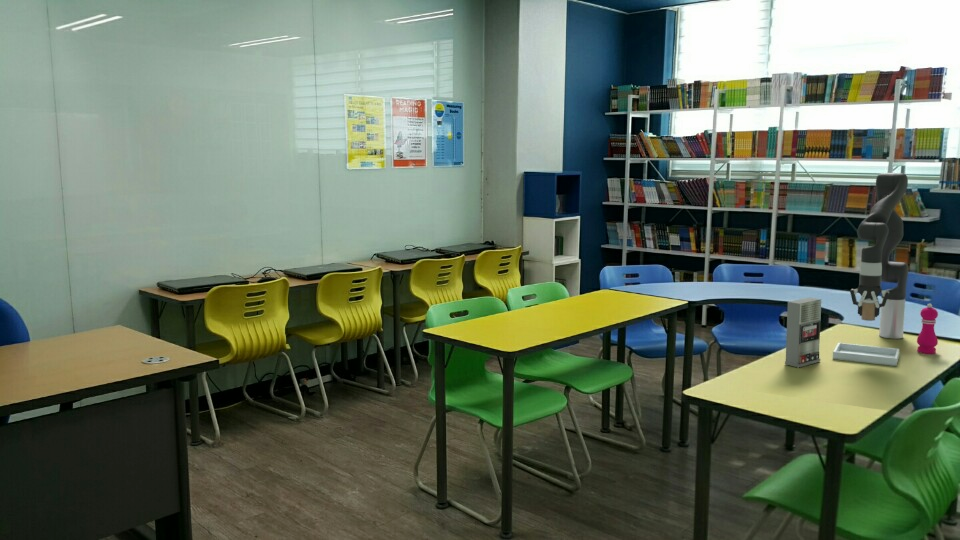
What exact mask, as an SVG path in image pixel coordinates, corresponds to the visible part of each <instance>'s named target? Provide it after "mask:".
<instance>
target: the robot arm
mask: <svg viewBox="0 0 960 540" xmlns="http://www.w3.org/2000/svg"><path fill="white" fill-rule="evenodd" d="M908 185H909V180H908V176H907V174H906V173H903V172H902V173H901V172H881V173H879V174H877V176H876V180H875V192H876V200H877V201H876V203H874V205H873V206H872V208H871V210H870V212H869V215H868V216H866V218H865V219H863V220H862V221H861V222H860V224H859V225H858V228H857V231H856V234H857V237H858V238H859V239H860V240H861V241H873V242H874V241H875V244H874V245H869V246H868V245H867V246H863V247H862V248H861V256H860V261H861V262H860V266H859V267H860V268H859V281H858V282H859V283H858V287H857V288H851V289H850V291H849V293H850V297H851V301H852V304H853V305H855V306H857V314H858V315H859V317H861V316H862V303H863V300H864V299H872V300H874V302H875V305H876V308H875V318H878V316H879V315H880V316H879V330H878V332H879V333H878V336H879V337H881V338H885V339H894V340H895V339H896V340H897V339H903V338H904V328H905V327H904V325H905V311H906V297H907V295H906V293H907V284H908V276H909V275H908V274H909V267H908V263H906V262H904V261H903V262H902V261H889V257H890V255H891V254H892V252H893V251H894V250H895V248H896V247H897V246H898V245H899V244H900V242H901V241H902V240H903V237H904V221H903V219H902V217H901V215H900V214H899V213H898V212H897V211H896V206H897V205H898V204H899V203H900V201H901V199H902V198H904V197H903V196H904V195H905V194H906V192H907V190H908ZM882 282H883V283H890V284H891V283H892V284H897V285H896V286H895V287H891V288H888V289H884V290H883V289H882ZM857 292H858V293H859V294H860V299H859V301H857V296H856V295H857ZM879 296H881V297H880V301H879V298H878V297H879Z"/></svg>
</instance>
